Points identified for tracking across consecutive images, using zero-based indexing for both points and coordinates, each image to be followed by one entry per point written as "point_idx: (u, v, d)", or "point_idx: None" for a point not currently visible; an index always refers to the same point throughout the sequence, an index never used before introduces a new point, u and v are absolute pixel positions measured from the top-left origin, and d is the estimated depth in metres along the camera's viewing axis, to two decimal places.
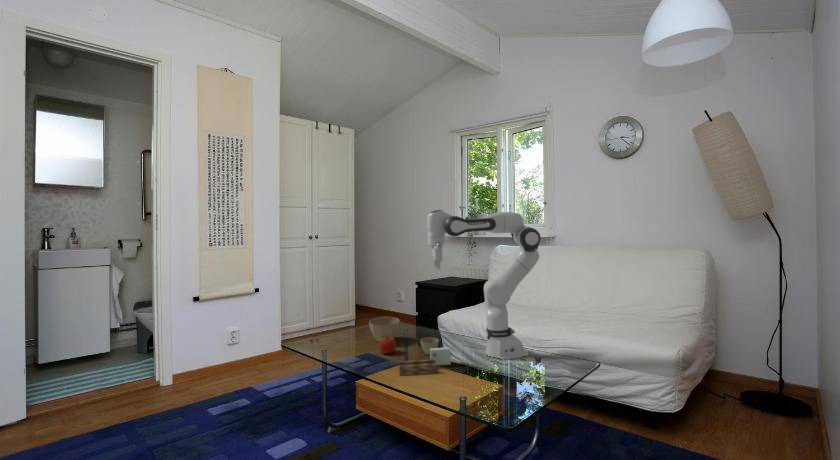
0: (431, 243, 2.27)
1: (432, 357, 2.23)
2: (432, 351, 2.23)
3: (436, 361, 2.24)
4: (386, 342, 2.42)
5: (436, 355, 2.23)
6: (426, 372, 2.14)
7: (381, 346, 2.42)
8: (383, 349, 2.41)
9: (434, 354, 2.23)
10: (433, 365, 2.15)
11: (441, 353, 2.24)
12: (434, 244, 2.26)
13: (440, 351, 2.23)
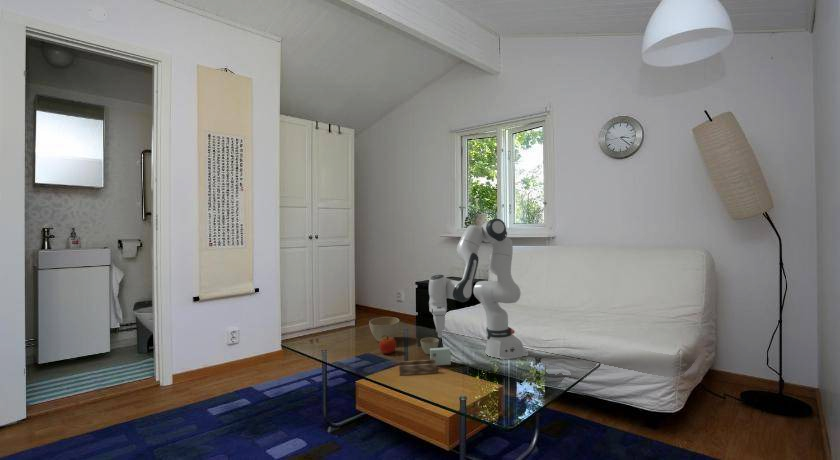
0: None
1: (432, 357, 2.23)
2: (432, 351, 2.23)
3: (436, 361, 2.24)
4: (386, 342, 2.42)
5: (436, 355, 2.23)
6: (426, 372, 2.14)
7: (381, 346, 2.42)
8: (383, 349, 2.41)
9: (434, 354, 2.23)
10: (433, 365, 2.15)
11: (441, 353, 2.24)
12: None
13: (440, 351, 2.23)
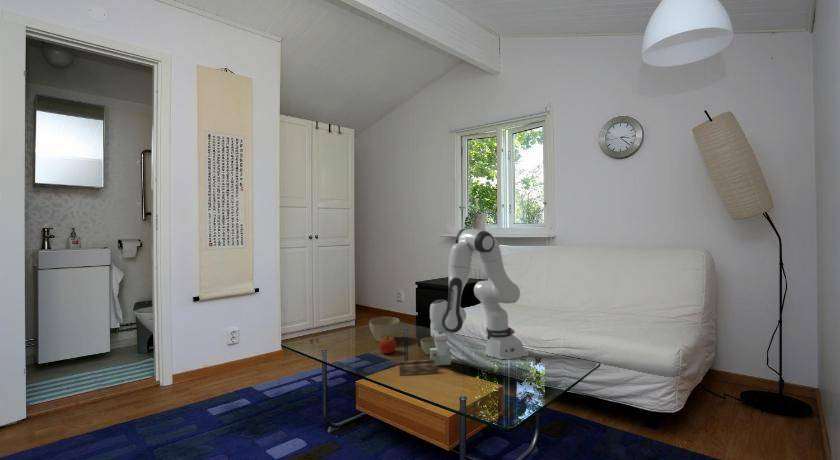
0: None
1: (432, 357, 2.23)
2: (432, 351, 2.23)
3: (436, 361, 2.24)
4: (386, 342, 2.42)
5: (436, 355, 2.23)
6: (426, 372, 2.14)
7: (381, 346, 2.42)
8: (383, 349, 2.41)
9: (434, 354, 2.23)
10: (433, 365, 2.15)
11: None
12: None
13: None
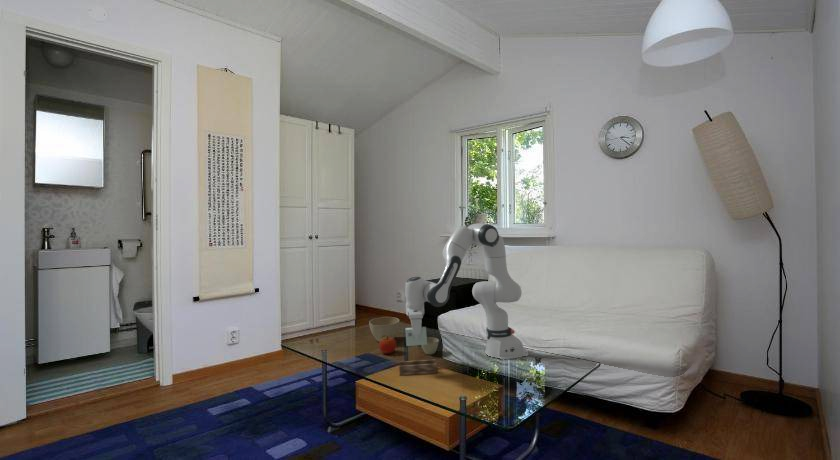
0: None
1: (407, 337, 2.15)
2: (407, 330, 2.15)
3: (412, 341, 2.15)
4: (386, 342, 2.42)
5: (411, 335, 2.15)
6: (426, 372, 2.14)
7: (381, 346, 2.42)
8: (383, 349, 2.41)
9: (409, 334, 2.15)
10: (433, 365, 2.15)
11: None
12: None
13: None
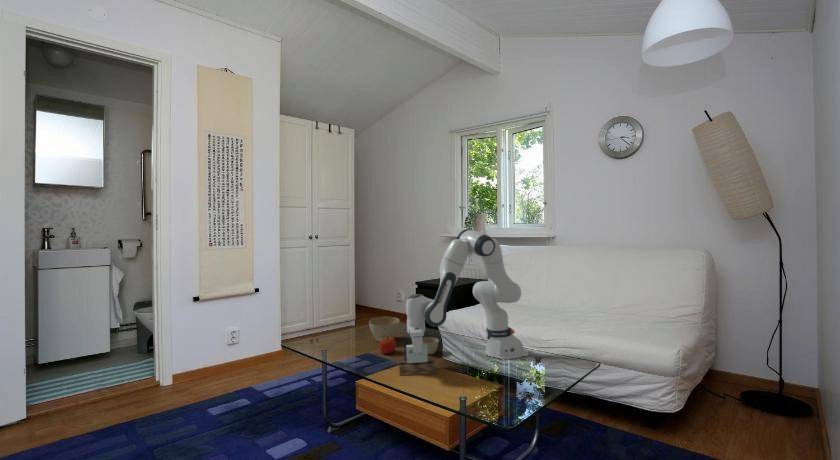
0: None
1: (408, 354, 2.15)
2: (408, 348, 2.15)
3: (412, 358, 2.15)
4: (386, 342, 2.42)
5: (412, 352, 2.15)
6: (426, 372, 2.14)
7: (381, 346, 2.42)
8: (383, 349, 2.41)
9: (410, 351, 2.15)
10: (433, 365, 2.15)
11: None
12: None
13: None
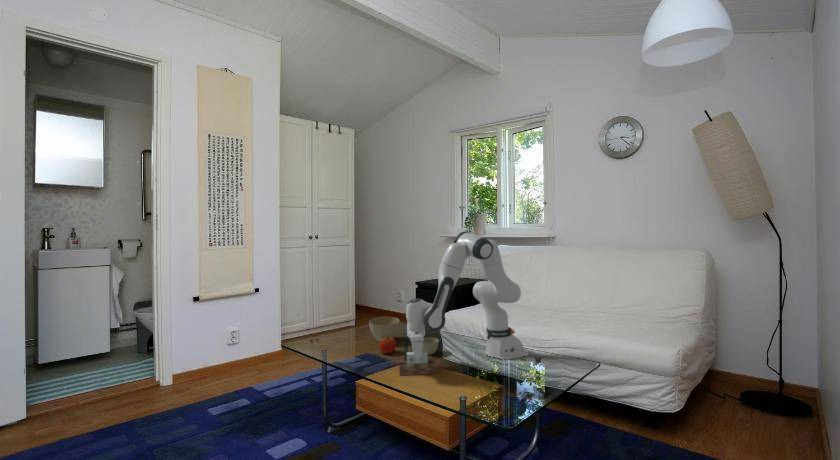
0: None
1: (409, 361, 2.16)
2: (409, 355, 2.15)
3: None
4: (386, 342, 2.42)
5: (413, 360, 2.16)
6: (426, 372, 2.14)
7: (381, 346, 2.42)
8: (383, 349, 2.41)
9: (411, 358, 2.16)
10: (433, 365, 2.15)
11: None
12: None
13: None
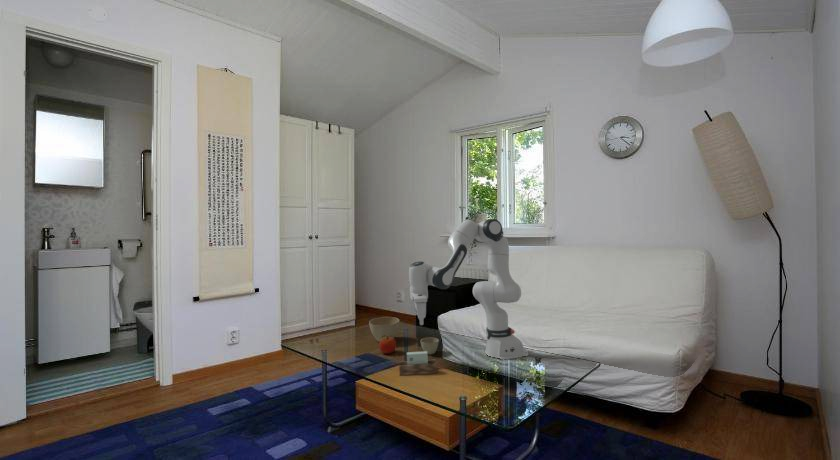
0: None
1: (409, 361, 2.16)
2: (409, 355, 2.16)
3: None
4: (386, 342, 2.42)
5: (413, 360, 2.16)
6: (426, 372, 2.14)
7: (381, 346, 2.42)
8: (383, 349, 2.41)
9: (411, 358, 2.16)
10: (433, 365, 2.15)
11: (418, 357, 2.16)
12: None
13: (417, 355, 2.16)
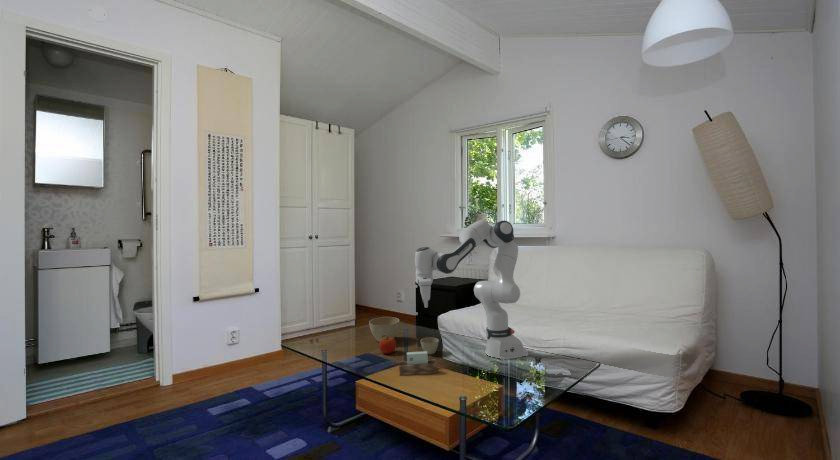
0: None
1: (409, 361, 2.16)
2: (409, 355, 2.16)
3: None
4: (386, 342, 2.42)
5: (413, 360, 2.16)
6: (426, 372, 2.14)
7: (381, 346, 2.42)
8: (383, 349, 2.41)
9: (411, 358, 2.16)
10: (433, 365, 2.15)
11: (418, 357, 2.16)
12: None
13: (417, 355, 2.16)
